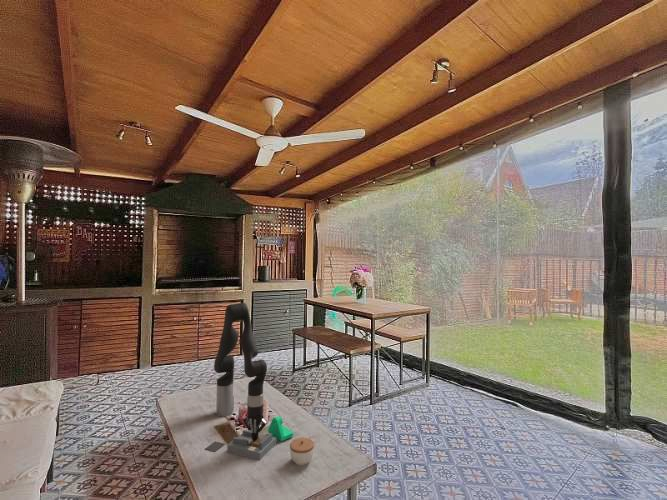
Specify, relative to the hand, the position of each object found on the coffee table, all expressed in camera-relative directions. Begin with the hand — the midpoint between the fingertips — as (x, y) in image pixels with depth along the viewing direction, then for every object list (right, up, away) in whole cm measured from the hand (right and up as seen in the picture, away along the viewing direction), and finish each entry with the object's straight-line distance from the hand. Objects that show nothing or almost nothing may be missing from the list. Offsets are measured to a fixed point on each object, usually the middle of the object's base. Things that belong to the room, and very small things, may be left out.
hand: (254, 439), depth 158 cm
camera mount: (+11, -5, +12) cm, 16 cm away
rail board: (-1, -4, +1) cm, 4 cm away
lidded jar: (+24, -4, -10) cm, 26 cm away
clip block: (+1, -2, 0) cm, 3 cm away
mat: (-19, -4, +1) cm, 20 cm away
